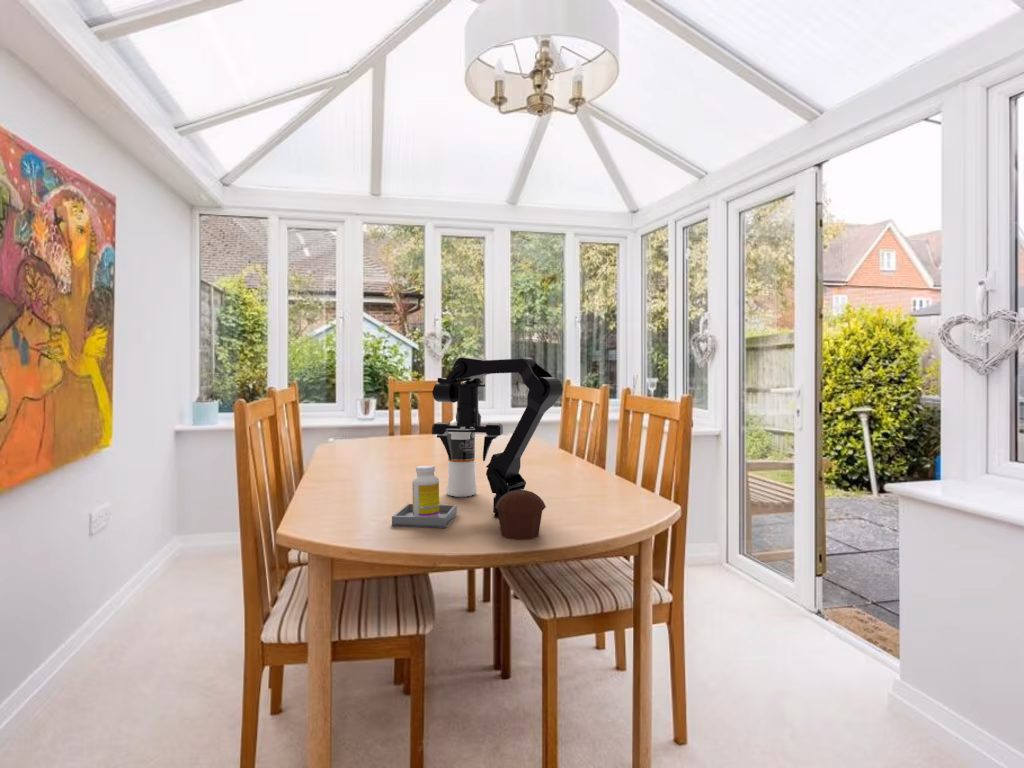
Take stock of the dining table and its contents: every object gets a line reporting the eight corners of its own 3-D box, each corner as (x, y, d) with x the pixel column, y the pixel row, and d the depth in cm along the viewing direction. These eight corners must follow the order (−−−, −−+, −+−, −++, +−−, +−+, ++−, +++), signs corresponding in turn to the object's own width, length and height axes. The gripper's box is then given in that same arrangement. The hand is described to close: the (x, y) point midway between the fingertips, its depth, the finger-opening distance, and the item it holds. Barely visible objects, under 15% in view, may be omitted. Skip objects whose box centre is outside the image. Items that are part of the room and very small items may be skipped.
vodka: (458, 489, 186) (458, 393, 185) (482, 493, 181) (483, 394, 180) (439, 495, 178) (439, 395, 177) (464, 499, 173) (464, 396, 172)
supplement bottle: (444, 517, 150) (444, 466, 150) (424, 522, 146) (423, 469, 145) (428, 512, 155) (427, 463, 155) (407, 517, 150) (406, 466, 150)
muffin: (492, 540, 133) (493, 496, 133) (496, 527, 144) (496, 486, 144) (546, 541, 133) (546, 497, 132) (545, 528, 144) (546, 486, 143)
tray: (456, 514, 156) (456, 505, 156) (445, 528, 143) (445, 518, 143) (407, 512, 158) (407, 503, 157) (391, 526, 144) (391, 516, 144)
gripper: (505, 402, 169) (505, 456, 170) (441, 401, 171) (440, 455, 172) (500, 404, 158) (499, 463, 159) (431, 403, 160) (431, 461, 161)
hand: (467, 460), depth 163 cm, fingers open, 9 cm apart
